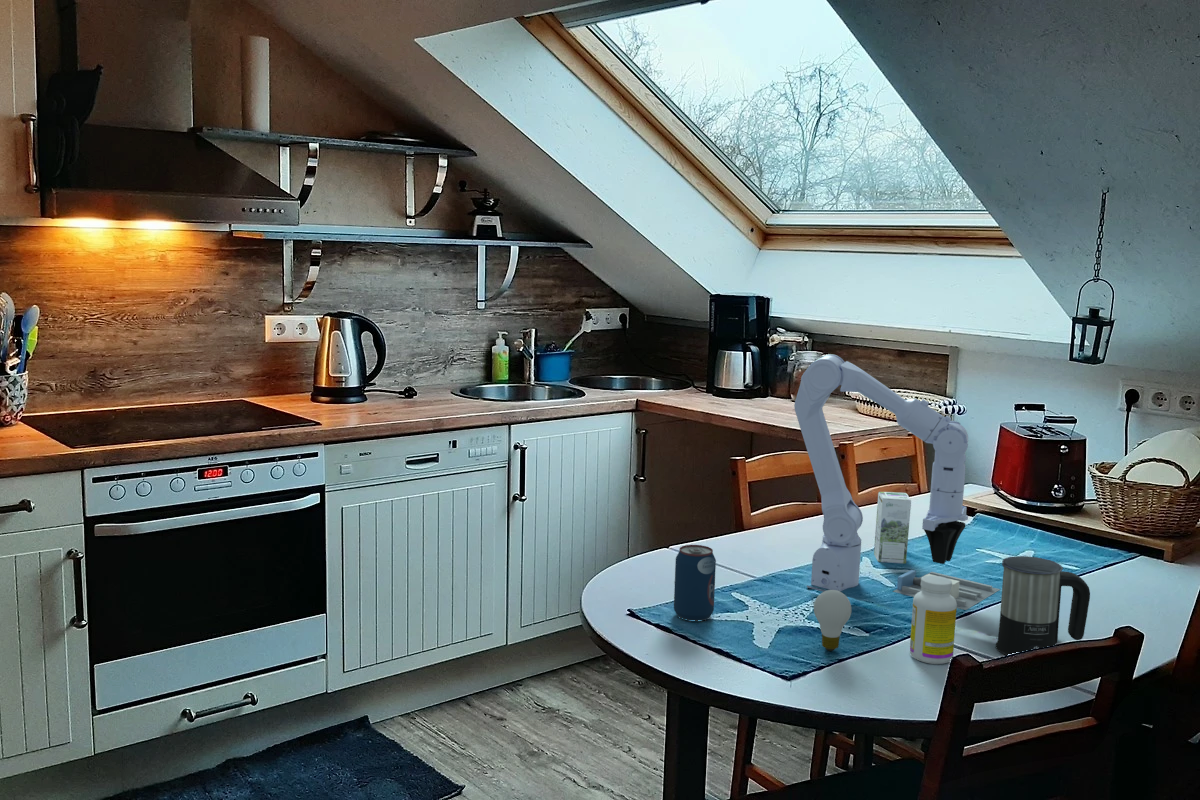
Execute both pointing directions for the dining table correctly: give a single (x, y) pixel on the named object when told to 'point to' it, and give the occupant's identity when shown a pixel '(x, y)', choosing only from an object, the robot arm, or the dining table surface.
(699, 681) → the dining table surface
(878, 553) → the syrup box
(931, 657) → the supplement bottle
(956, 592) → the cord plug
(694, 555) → the soda can
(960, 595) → the grey flat ridged plate
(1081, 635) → the milk frother
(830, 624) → the light bulb
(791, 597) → the dining table surface
